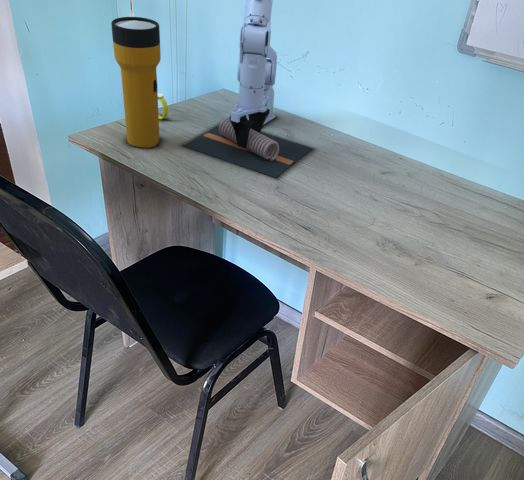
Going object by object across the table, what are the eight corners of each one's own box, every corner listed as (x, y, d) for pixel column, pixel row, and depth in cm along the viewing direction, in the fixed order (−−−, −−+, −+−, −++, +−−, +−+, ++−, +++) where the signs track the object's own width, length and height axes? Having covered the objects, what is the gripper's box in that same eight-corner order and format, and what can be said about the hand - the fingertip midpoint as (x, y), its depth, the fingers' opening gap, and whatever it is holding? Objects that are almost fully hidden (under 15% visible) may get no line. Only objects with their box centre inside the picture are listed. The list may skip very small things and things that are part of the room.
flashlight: (121, 12, 117) (165, 19, 116) (131, 129, 135) (169, 136, 134) (103, 23, 110) (149, 30, 109) (116, 145, 128) (156, 153, 127)
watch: (146, 115, 142) (145, 92, 138) (154, 112, 144) (153, 89, 140) (163, 122, 140) (162, 99, 136) (170, 119, 142) (169, 96, 138)
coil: (282, 141, 127) (232, 115, 136) (268, 143, 124) (218, 117, 133) (278, 160, 130) (230, 133, 139) (265, 163, 127) (216, 136, 136)
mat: (226, 121, 144) (226, 120, 144) (312, 149, 136) (312, 148, 136) (183, 146, 131) (183, 145, 131) (275, 178, 123) (276, 177, 123)
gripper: (251, 97, 117) (247, 157, 126) (281, 80, 126) (275, 137, 136) (223, 89, 119) (221, 148, 128) (256, 73, 128) (251, 129, 138)
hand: (247, 142), depth 132 cm, fingers closed on coil, 6 cm apart
